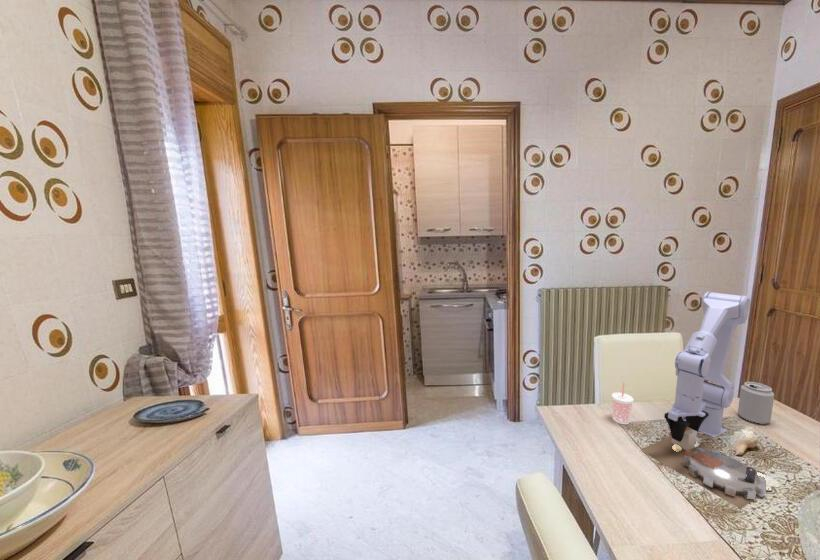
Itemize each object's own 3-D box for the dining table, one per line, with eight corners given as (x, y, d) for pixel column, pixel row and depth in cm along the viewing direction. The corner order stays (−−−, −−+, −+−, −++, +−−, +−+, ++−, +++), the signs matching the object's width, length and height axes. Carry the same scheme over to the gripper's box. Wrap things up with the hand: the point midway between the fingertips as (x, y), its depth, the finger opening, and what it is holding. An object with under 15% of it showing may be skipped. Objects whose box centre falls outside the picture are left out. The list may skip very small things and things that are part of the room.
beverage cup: (623, 429, 104) (626, 389, 102) (605, 419, 109) (608, 381, 107) (635, 424, 106) (639, 384, 104) (617, 414, 112) (620, 377, 110)
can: (735, 410, 112) (739, 378, 110) (766, 417, 108) (771, 383, 106) (740, 420, 106) (744, 387, 104) (773, 428, 102) (778, 393, 100)
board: (639, 451, 93) (640, 450, 93) (678, 433, 101) (678, 432, 100) (740, 511, 73) (740, 508, 73) (779, 483, 80) (779, 481, 80)
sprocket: (679, 447, 93) (681, 431, 92) (753, 467, 85) (756, 449, 84) (688, 482, 81) (690, 464, 80) (776, 509, 72) (779, 489, 71)
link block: (671, 442, 96) (673, 427, 95) (679, 439, 97) (681, 423, 96) (687, 450, 92) (689, 434, 91) (695, 446, 94) (697, 430, 93)
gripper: (690, 405, 86) (685, 451, 88) (720, 393, 91) (714, 437, 93) (661, 394, 92) (657, 436, 94) (690, 383, 98) (686, 424, 100)
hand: (684, 436), depth 94 cm, fingers open, 7 cm apart
